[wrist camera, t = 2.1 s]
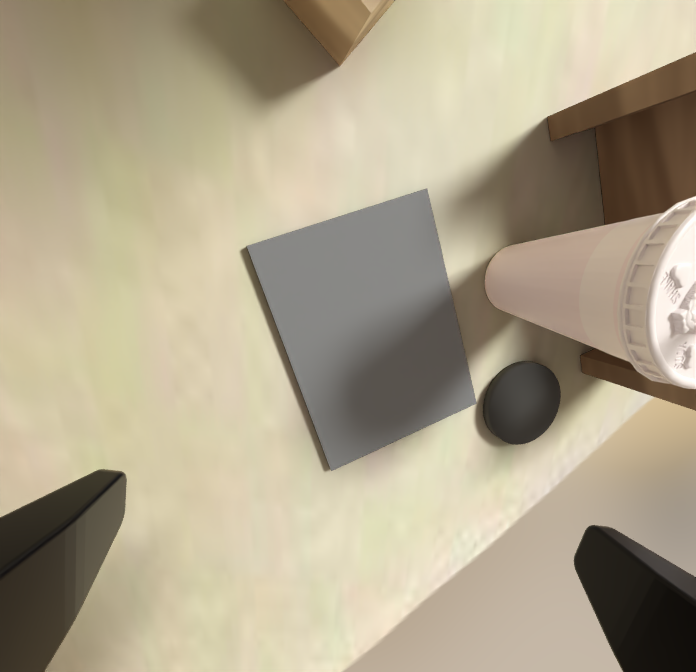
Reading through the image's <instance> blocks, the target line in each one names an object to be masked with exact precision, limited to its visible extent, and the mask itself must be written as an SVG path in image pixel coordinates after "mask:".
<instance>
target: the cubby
mask: <svg viewBox="0 0 696 672" xmlns="http://www.w3.org/2000/svg"><path fill="white" fill-rule="evenodd" d="M547 118H548V125H549V133H550V140H551V141H553V140H556V139H559V138H563V137H566V136H569V135H572V134H575V133H578V132H582V131H585V130H588V129H591V128H594V127H595V132H596V142H597V151H598V161H599V171H600V180H601V190H602V199H603V209H604V218H605V225H608V224H613V223H618V222H623V221H627V220H631V219H635V218H640V217H645V216H650V215H655V214H660V213H664V212H665V211H667V210H668V209H669V208H671V207H672V206H673V205H675V204H676V203H678V202H681V201H684V200H686V199H689V198H692V197H695V196H696V52H695V53H693V54H691V55H688V56H686V57H684V58H681V59H679V60H677V61H674V62H672V63H670V64H668V65H665V66H663V67H661V68H658V69H656V70H654V71H652V72H649V73H647V74H645V75H642V76H640V77H638V78H635V79H633V80H631V81H629V82H626V83H624V84H622V85H619V86H617V87H615V88H612V89H610V90H608V91H606V92H603V93H601V94H599V95H596V96H594V97H592V98H589V99H587V100H585V101H583V102H580V103H578V104H576V105H573V106H571V107H569V108H566V109H564V110H562V111H560V112H557V113H555V114H553V115H550V116H548V117H547ZM580 359H581V366H582V373H585V374H588V375H591V376H594V377H597V378H600V379H603V380H606V381H609V382H612V383H615V384H618V385H621V386H624V387H627V388H630V389H633V390H636V391H639V392H642V393H645V394H648V395H651V396H654V397H657V398H660V399H663V400H666V401H669V402H672V403H675V404H678V405H681V406H684V407H687V408H690V409H693V410H696V389H687V388H682V387H679V386H676V385H672V384H666V383H661V382H655V381H651V380H650V379H648V378H647V377H645V376H643V375H642V374H640V373H639V372H637V371H636V369H635V368H634V367H633V365H632V364H631V363H630V362H629V361H626V360H623V359H621V358H618V357H616V356H613V355H610V354H608V353H605V352H603V351H601V350H599V349H596V348H595V349H593V350H591V351H589V352H587V353H585V354H582V355H580Z"/></svg>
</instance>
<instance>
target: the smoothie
mask: <svg viewBox="0 0 696 672" xmlns="http://www.w3.org/2000/svg"><path fill="white" fill-rule="evenodd" d="M485 290H486V294H487V296H488V299H489V300H490V302H491V303H492V304H493V305H494V306H495V307H496V308H498V309H500V310H502V311H504V312H507V313H509V314H512V315H514V316H517V317H519V318H522V319H524V320H527V321H529V322H532V323H534V324H537V325H539V326H542V327H544V328H547V329H549V330H552V331H554V332H556V333H559V334H561V335H564V336H566V337H569V338H571V339H574V340H576V341H579V342H581V343H584V344H586V345H589V346H591V347H594V348H596V349H599V350H601V351H603V352H605V353H608V354H610V355H613V356H616V357H618V358H621V359H623V360H626V361H629V362H630V363H631V364H632V365H633V367H634V368H635V369H636V371H637V372H639V373H640V374H642V375H643V376H645V377H647V378H648V379H650V380H651V381H655V382H661V383H666V384H672V385H676V386H679V387H682V388H687V389H696V196H695V197H692V198H689V199H686V200H684V201H681V202H678V203H676V204H675V205H673V206H672V207H671V208H669V209H668V210H667V211H665V212H664V213H660V214H655V215H650V216H645V217H640V218H635V219H631V220H627V221H623V222H618V223H613V224H608V225H604V226H599V227H594V228H590V229H585V230H580V231H576V232H571V233H566V234H562V235H557V236H552V237H547V238H543V239H538V240H533V241H529V242H524V243H519V244H515V245H510V246H507V247H505V248H503V249H501V250H500V251H499V252H497V253H496V254H495V256H494V257H493V258H492V260H491V261H490V263H489V265H488V267H487V270H486V274H485Z"/></svg>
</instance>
